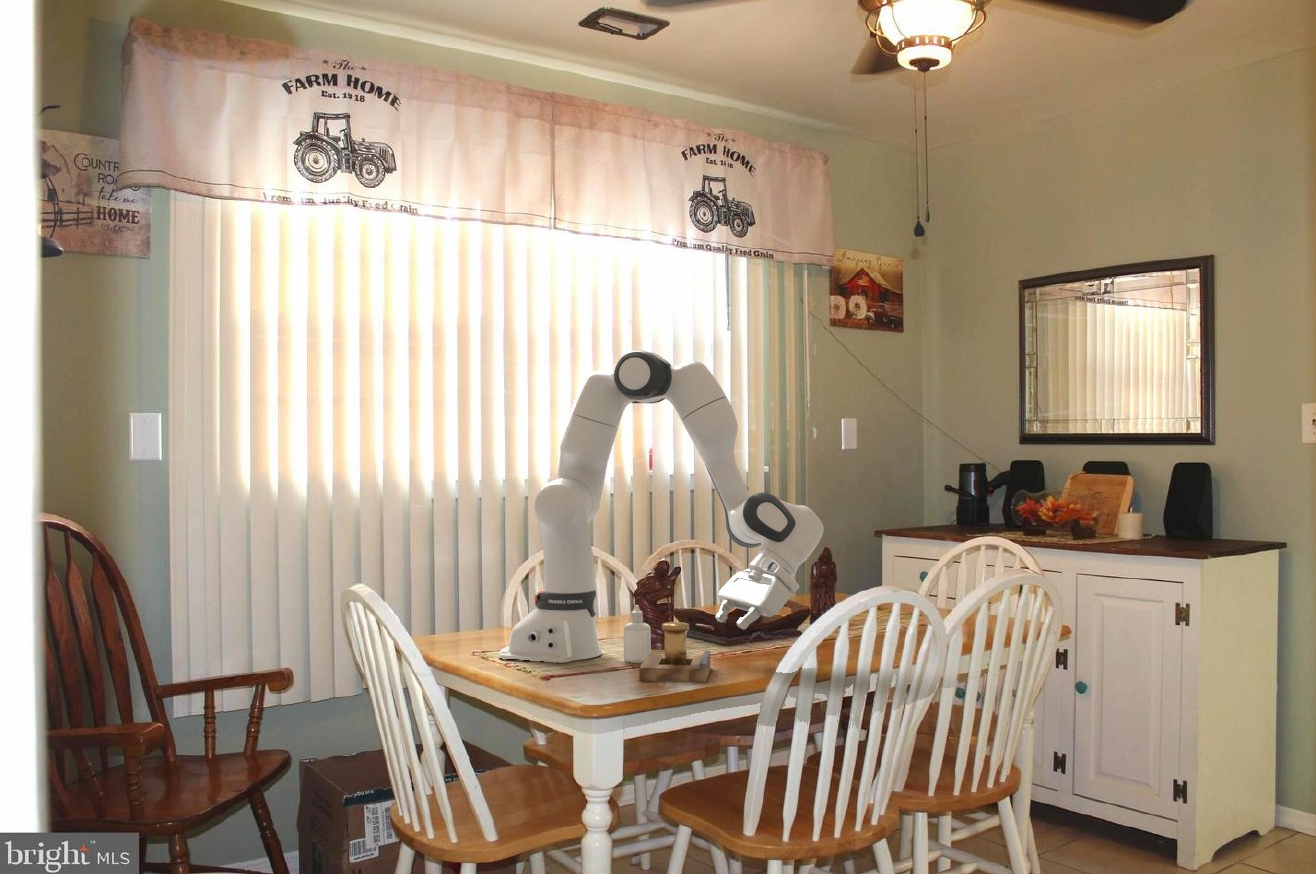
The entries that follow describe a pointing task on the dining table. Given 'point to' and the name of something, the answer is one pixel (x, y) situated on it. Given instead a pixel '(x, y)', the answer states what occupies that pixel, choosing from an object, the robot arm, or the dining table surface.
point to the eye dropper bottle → (637, 638)
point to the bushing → (675, 643)
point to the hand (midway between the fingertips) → (729, 623)
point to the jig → (675, 669)
